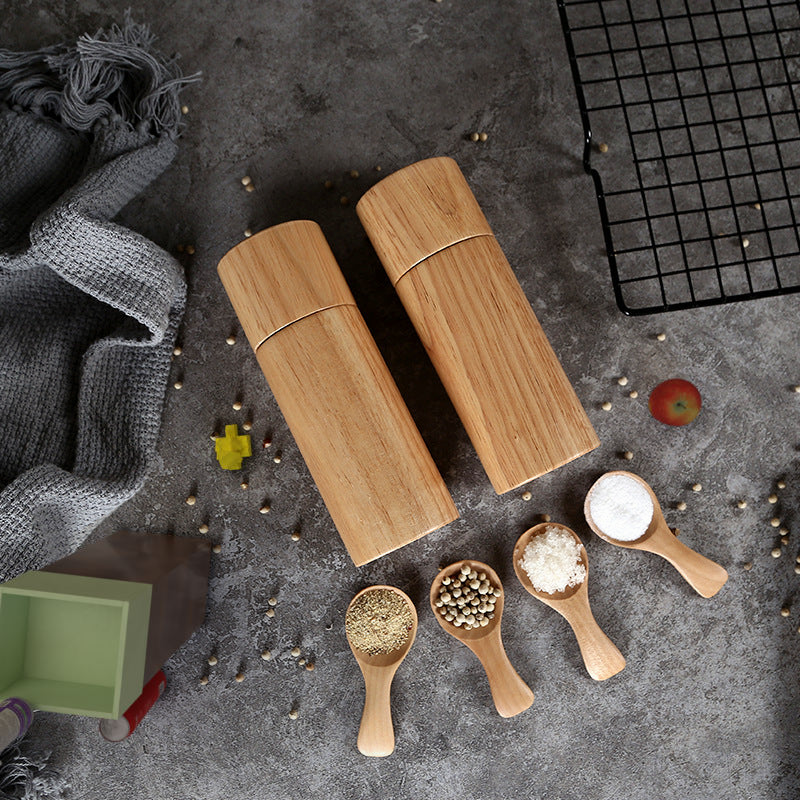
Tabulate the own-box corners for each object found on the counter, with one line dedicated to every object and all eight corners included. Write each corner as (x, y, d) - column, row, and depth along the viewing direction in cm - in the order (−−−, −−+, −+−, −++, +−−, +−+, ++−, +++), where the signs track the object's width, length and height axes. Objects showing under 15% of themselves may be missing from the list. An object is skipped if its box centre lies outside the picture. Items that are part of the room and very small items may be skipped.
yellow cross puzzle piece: (248, 423, 116) (236, 425, 108) (253, 466, 116) (241, 472, 109) (216, 426, 116) (202, 429, 109) (221, 469, 117) (207, 475, 109)
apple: (695, 392, 114) (722, 392, 104) (673, 432, 114) (698, 436, 104) (655, 370, 114) (677, 369, 104) (633, 411, 114) (653, 413, 104)
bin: (20, 678, 91) (-15, 704, 83) (30, 570, 90) (-4, 586, 83) (142, 693, 90) (117, 720, 83) (152, 584, 90) (129, 601, 83)
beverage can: (163, 661, 118) (125, 701, 103) (172, 695, 118) (136, 740, 103) (132, 669, 118) (90, 710, 103) (141, 703, 118) (101, 749, 103)
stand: (113, 610, 118) (22, 676, 91) (121, 529, 117) (32, 572, 90) (204, 620, 117) (140, 690, 90) (212, 539, 117) (150, 586, 90)
